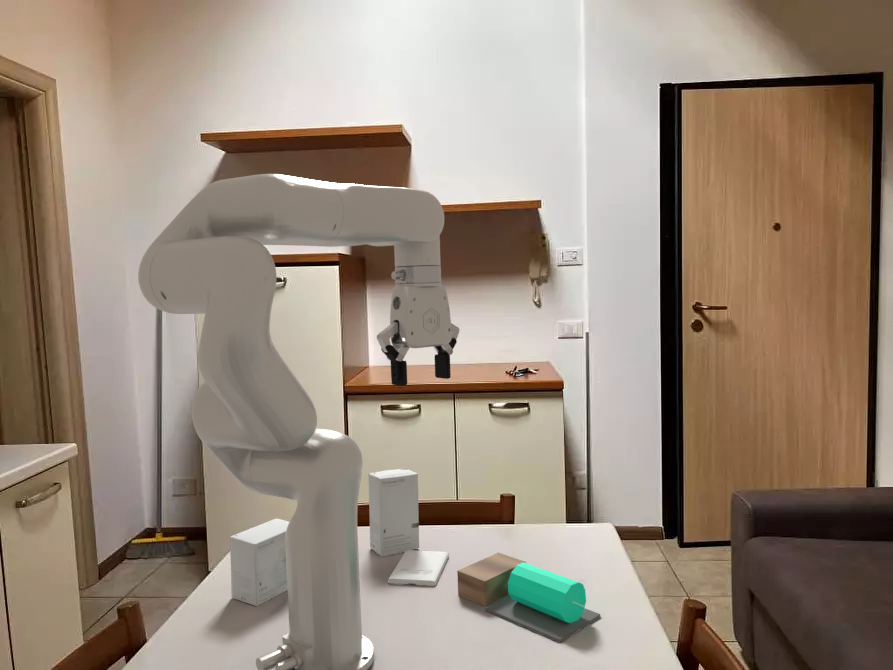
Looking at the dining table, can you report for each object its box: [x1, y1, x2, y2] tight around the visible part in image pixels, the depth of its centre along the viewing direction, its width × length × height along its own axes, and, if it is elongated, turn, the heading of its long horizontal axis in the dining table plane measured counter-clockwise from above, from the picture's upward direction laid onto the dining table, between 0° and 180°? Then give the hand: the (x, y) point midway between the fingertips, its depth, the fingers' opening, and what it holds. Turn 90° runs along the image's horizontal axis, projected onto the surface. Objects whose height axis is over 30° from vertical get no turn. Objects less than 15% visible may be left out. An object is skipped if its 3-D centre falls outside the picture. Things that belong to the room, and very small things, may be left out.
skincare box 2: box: [367, 468, 420, 558], centre depth 131 cm, size 8×6×15 cm
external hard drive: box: [387, 549, 450, 587], centre depth 121 cm, size 2×8×12 cm
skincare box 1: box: [229, 518, 290, 607], centre depth 115 cm, size 10×6×10 cm, turn 148°
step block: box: [456, 552, 526, 607], centre depth 112 cm, size 10×6×4 cm, turn 134°
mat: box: [485, 595, 601, 643], centre depth 104 cm, size 10×14×1 cm
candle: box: [508, 562, 587, 623], centre depth 103 cm, size 6×6×12 cm
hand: (421, 381), depth 114 cm, fingers open, 9 cm apart
